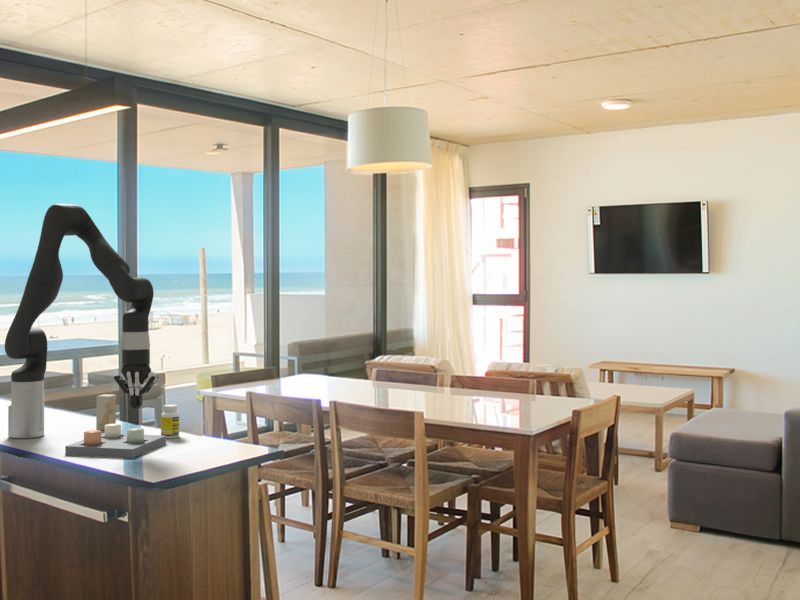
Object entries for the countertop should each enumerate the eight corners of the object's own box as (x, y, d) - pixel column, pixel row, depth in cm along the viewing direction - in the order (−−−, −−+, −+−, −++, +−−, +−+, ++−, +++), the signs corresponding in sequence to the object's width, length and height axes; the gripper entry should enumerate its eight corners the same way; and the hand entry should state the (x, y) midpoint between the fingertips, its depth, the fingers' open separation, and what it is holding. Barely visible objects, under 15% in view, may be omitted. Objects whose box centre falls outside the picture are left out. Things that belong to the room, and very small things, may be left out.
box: (108, 430, 258) (108, 396, 258) (95, 430, 259) (95, 396, 259) (116, 428, 263) (116, 394, 263) (104, 427, 264) (104, 393, 264)
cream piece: (101, 439, 235) (101, 426, 234) (109, 436, 239) (109, 423, 239) (116, 440, 234) (116, 426, 234) (124, 437, 238) (124, 423, 238)
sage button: (123, 444, 227) (123, 430, 227) (131, 441, 232) (132, 427, 232) (139, 445, 227) (139, 431, 227) (146, 442, 231) (146, 428, 231)
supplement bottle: (174, 439, 246) (174, 407, 246) (157, 438, 247) (157, 406, 247) (182, 435, 251) (182, 404, 251) (166, 435, 252) (166, 403, 252)
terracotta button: (80, 447, 224) (80, 432, 224) (89, 443, 228) (89, 429, 228) (95, 447, 223) (95, 433, 223) (104, 444, 227) (104, 430, 227)
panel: (65, 454, 222) (65, 446, 222) (103, 440, 242) (103, 432, 242) (132, 458, 219) (132, 449, 219) (166, 443, 239) (166, 435, 238)
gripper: (107, 348, 226) (108, 409, 227) (151, 348, 224) (152, 410, 224) (120, 346, 234) (121, 406, 234) (163, 346, 232) (164, 406, 232)
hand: (136, 408), depth 229 cm, fingers closed
